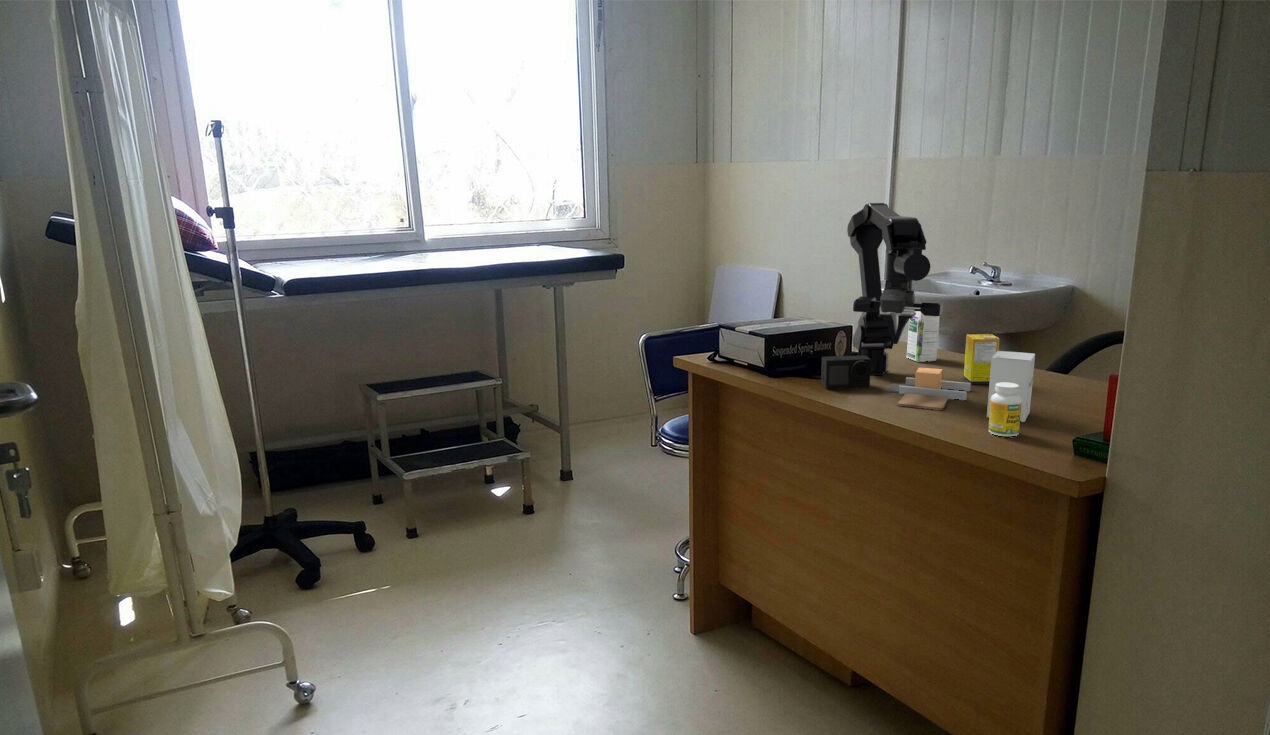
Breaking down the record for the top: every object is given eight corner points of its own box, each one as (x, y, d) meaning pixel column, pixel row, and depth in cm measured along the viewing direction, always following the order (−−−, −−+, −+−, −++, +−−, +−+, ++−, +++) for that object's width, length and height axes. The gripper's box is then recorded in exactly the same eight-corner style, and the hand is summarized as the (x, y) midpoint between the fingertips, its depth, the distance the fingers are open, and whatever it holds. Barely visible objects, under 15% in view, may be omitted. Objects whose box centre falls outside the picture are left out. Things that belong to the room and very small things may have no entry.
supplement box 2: (1025, 423, 162) (1031, 360, 159) (985, 418, 166) (990, 356, 163) (1030, 413, 168) (1036, 353, 165) (991, 408, 172) (996, 349, 169)
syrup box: (905, 358, 219) (908, 304, 216) (925, 356, 221) (928, 302, 217) (917, 362, 214) (920, 307, 211) (937, 361, 215) (941, 306, 212)
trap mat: (886, 391, 187) (886, 390, 187) (892, 384, 193) (892, 383, 193) (908, 393, 184) (909, 392, 184) (914, 386, 191) (914, 385, 190)
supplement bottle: (1000, 427, 159) (1004, 379, 157) (1025, 435, 155) (1029, 385, 152) (981, 432, 157) (985, 383, 154) (1006, 440, 152) (1010, 389, 150)
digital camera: (826, 391, 189) (827, 361, 187) (820, 385, 194) (821, 356, 192) (871, 389, 189) (872, 359, 188) (864, 383, 194) (865, 354, 193)
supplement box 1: (988, 378, 196) (992, 333, 194) (996, 385, 190) (1000, 338, 188) (962, 378, 197) (965, 333, 194) (970, 384, 191) (973, 338, 189)
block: (914, 393, 185) (915, 372, 184) (918, 388, 189) (919, 367, 188) (937, 396, 183) (939, 374, 182) (941, 390, 187) (942, 369, 186)
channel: (898, 394, 184) (899, 386, 184) (906, 384, 192) (906, 377, 192) (965, 400, 178) (966, 392, 178) (970, 390, 186) (970, 382, 186)
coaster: (897, 406, 175) (897, 403, 175) (905, 395, 183) (905, 393, 183) (942, 410, 171) (942, 407, 171) (947, 400, 179) (948, 397, 179)
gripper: (848, 277, 181) (845, 347, 184) (938, 281, 172) (933, 354, 176) (860, 272, 190) (857, 338, 194) (945, 275, 182) (941, 344, 185)
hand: (895, 343), depth 187 cm, fingers closed
